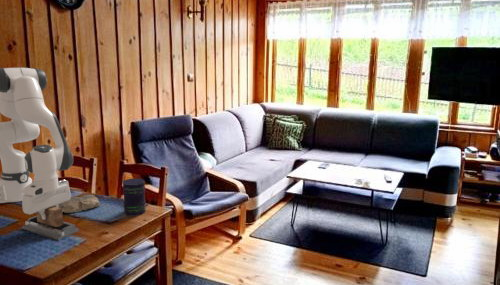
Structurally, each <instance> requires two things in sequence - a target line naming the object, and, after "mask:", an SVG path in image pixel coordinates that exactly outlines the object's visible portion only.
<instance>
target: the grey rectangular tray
mask: <svg viewBox="0 0 500 285" xmlns="http://www.w3.org/2000/svg"><path fill="white" fill-rule="evenodd" d="M21 229H22V230H25V231H28V232H31V233H33V234H37V235H41V236H42V237H43V236H44V237H46V238H50V239H52V240H55V241H56V240H57V241H60V240H62V239H64V238H66V237H69V236H71V235H73V234H75V233H78V232H80V228H78V227H76V224H74V223H70V222H66V221H64V220H63V225H61V226H59V227H55V226H51V225H48V224H44V223H41V222H37V215H35V216H32V217H30V218H27V220H25V225H23V226H21Z"/></svg>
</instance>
